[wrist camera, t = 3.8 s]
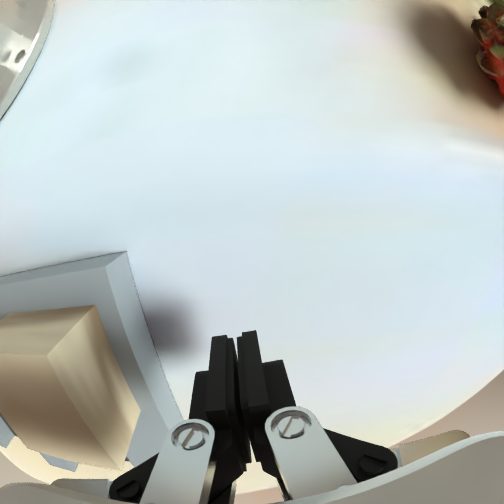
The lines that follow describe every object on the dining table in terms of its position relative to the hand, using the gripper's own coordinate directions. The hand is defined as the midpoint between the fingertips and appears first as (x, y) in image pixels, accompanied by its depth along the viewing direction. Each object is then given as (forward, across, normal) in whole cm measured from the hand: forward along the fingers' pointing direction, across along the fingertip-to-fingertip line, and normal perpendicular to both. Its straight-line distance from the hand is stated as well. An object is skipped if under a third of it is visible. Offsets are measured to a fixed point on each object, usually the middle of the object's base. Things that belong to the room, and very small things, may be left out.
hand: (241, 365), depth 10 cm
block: (+1, +9, 0) cm, 9 cm away
